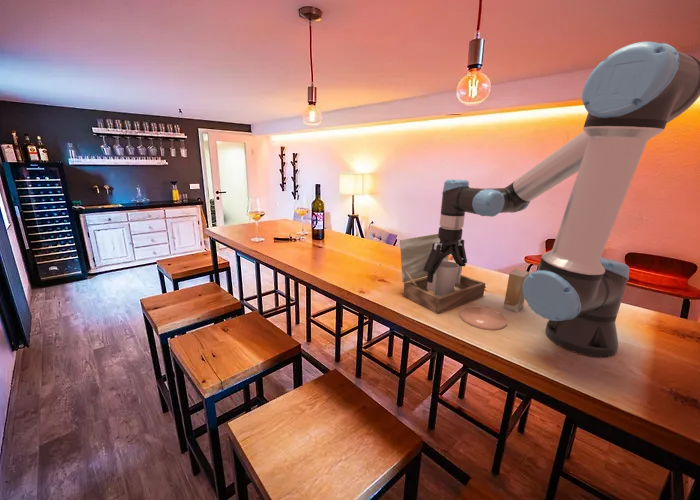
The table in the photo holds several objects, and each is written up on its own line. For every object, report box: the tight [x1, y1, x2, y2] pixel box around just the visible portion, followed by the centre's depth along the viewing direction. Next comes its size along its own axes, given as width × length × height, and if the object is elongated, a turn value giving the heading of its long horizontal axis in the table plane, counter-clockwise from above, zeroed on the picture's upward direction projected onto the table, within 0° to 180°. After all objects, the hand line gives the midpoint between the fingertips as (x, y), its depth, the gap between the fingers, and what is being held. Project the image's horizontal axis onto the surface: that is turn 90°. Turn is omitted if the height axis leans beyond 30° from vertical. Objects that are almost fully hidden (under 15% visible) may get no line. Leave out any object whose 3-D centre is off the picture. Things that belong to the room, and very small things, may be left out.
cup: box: [433, 260, 459, 297], centre depth 102 cm, size 8×8×12 cm
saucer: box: [459, 305, 508, 331], centre depth 89 cm, size 13×13×1 cm
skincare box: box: [503, 268, 530, 313], centre depth 95 cm, size 6×4×12 cm
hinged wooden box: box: [399, 233, 486, 315], centre depth 103 cm, size 19×24×20 cm
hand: (443, 286), depth 103 cm, fingers open, 13 cm apart
